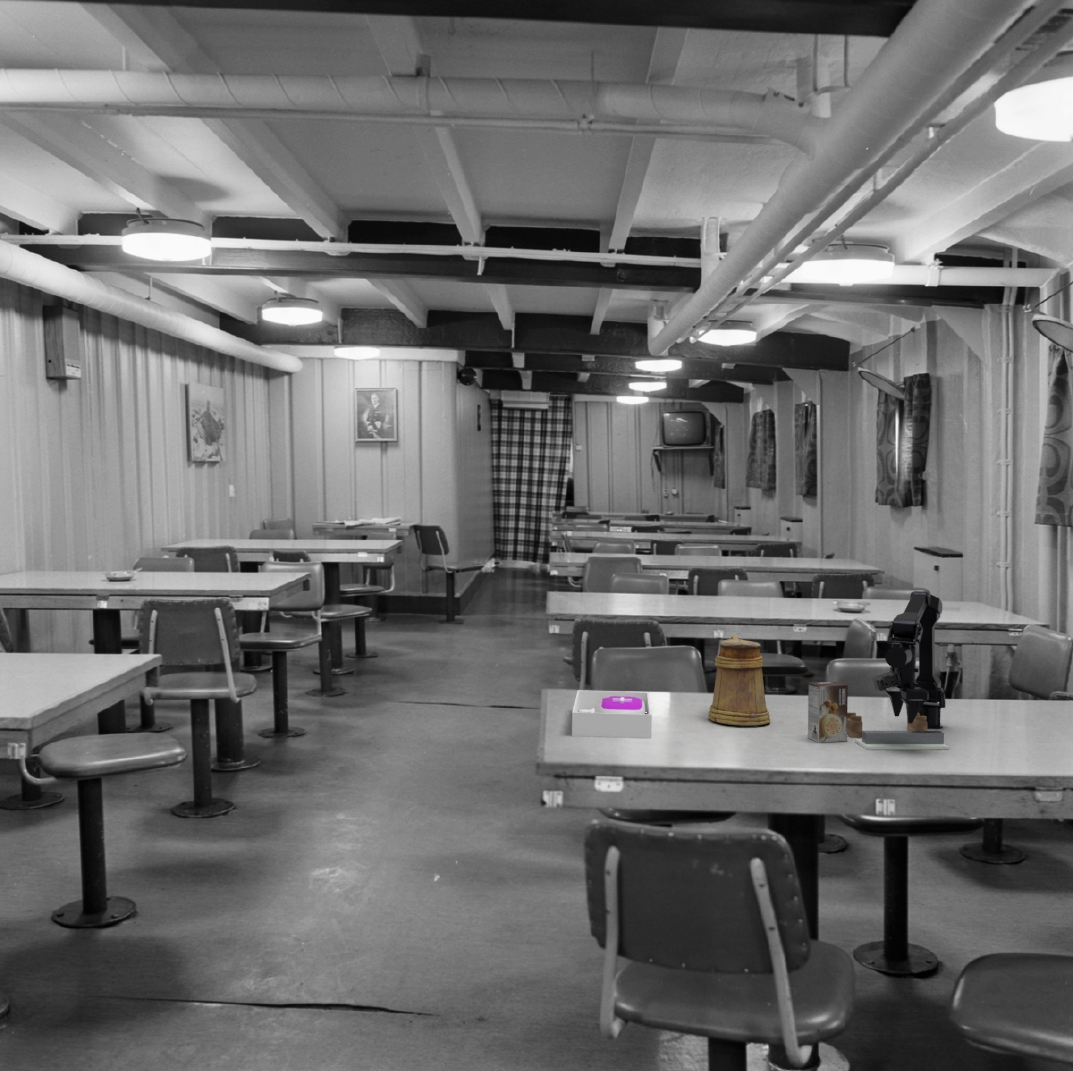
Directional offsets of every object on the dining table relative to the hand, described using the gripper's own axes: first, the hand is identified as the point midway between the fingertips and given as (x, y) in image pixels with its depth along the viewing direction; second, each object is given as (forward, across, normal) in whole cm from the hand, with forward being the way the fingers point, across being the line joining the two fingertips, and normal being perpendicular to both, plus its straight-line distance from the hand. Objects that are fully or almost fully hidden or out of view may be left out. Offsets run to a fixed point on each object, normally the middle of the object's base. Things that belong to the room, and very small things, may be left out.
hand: (903, 719), depth 289 cm
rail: (+6, 0, 0) cm, 7 cm away
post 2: (+7, -13, +10) cm, 18 cm away
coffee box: (+8, -7, -19) cm, 21 cm away
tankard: (+8, -34, -38) cm, 52 cm away
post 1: (+7, -13, -9) cm, 18 cm away
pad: (+7, 0, 0) cm, 7 cm away
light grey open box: (+8, -28, -77) cm, 83 cm away
